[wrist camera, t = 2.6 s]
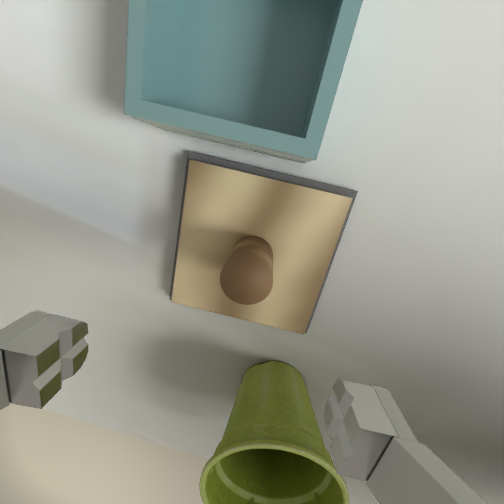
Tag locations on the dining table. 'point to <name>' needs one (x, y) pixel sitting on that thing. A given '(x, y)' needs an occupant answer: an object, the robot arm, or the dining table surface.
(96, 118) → the dining table surface
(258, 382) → the plant pot
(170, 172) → the dining table surface
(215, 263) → the lid
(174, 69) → the teal open box
